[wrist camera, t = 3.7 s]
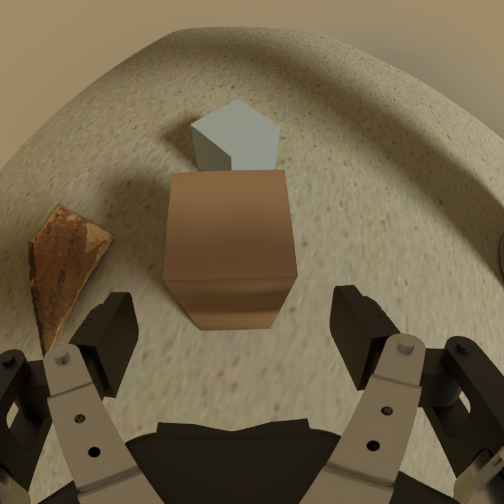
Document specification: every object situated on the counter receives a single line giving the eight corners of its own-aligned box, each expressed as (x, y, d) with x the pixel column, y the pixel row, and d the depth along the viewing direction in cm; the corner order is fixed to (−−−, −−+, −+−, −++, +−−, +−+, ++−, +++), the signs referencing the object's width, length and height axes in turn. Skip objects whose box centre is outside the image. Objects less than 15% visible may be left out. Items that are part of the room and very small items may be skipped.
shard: (55, 363, 18) (42, 360, 16) (2, 313, 19) (-11, 307, 17) (120, 242, 22) (112, 231, 20) (60, 210, 23) (51, 199, 21)
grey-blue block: (238, 142, 26) (237, 98, 21) (274, 171, 24) (280, 127, 20) (197, 168, 24) (190, 124, 20) (232, 200, 23) (231, 156, 19)
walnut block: (200, 265, 21) (172, 173, 12) (265, 263, 21) (284, 169, 12) (200, 330, 19) (162, 279, 10) (270, 328, 19) (297, 276, 10)
